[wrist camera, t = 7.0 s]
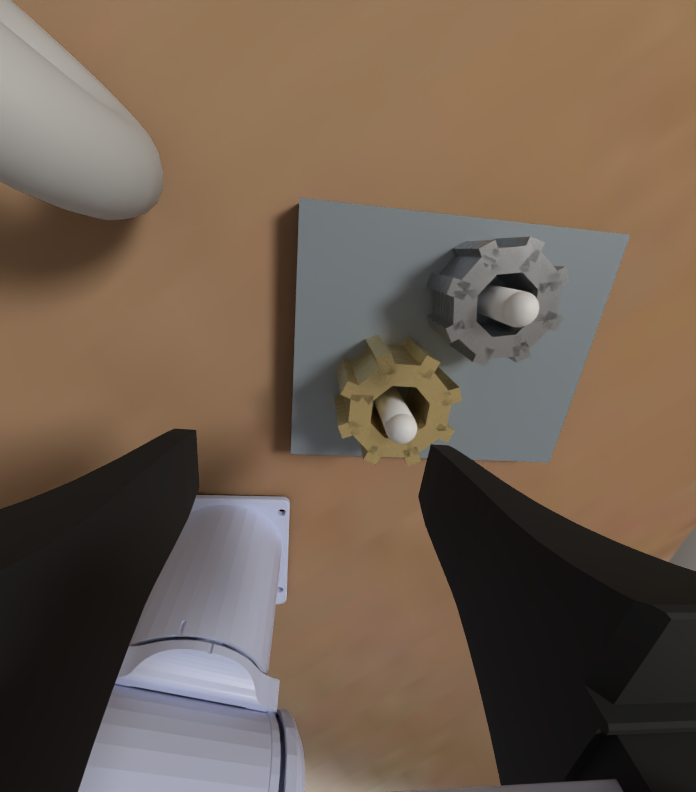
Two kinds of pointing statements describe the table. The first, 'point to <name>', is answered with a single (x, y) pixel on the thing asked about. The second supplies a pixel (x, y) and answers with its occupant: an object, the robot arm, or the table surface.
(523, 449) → the gear board
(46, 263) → the table surface
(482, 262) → the fixed gear
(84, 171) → the donut
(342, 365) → the brass gear
